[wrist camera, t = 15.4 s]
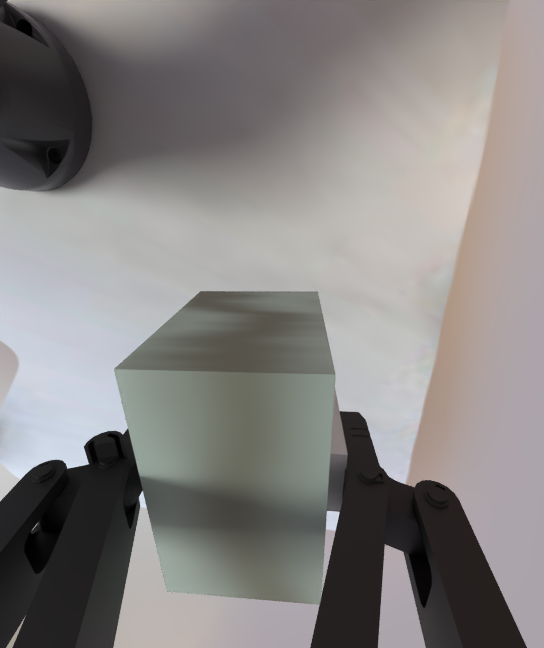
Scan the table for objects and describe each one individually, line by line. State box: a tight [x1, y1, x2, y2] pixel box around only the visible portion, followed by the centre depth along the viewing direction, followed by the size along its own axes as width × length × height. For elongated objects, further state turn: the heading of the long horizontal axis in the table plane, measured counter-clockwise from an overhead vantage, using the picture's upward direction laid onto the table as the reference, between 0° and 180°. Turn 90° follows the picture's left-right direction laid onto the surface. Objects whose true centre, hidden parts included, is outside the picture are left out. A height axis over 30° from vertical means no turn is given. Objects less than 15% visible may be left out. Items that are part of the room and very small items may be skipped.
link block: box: [114, 291, 335, 605], centre depth 14 cm, size 6×10×8 cm, turn 1°
